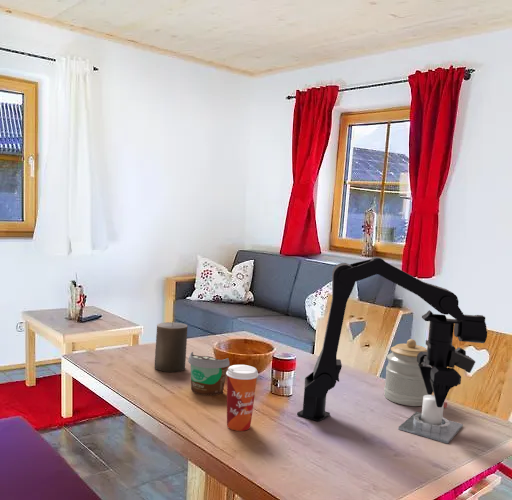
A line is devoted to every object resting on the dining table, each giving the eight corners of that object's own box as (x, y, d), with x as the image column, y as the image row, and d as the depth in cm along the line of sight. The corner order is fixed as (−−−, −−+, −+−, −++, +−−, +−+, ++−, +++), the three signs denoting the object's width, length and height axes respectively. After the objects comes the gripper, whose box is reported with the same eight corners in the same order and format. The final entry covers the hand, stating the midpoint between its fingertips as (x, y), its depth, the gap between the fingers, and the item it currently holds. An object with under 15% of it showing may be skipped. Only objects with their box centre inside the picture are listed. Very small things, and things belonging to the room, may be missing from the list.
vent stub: (423, 428, 133) (426, 400, 133) (418, 420, 138) (421, 394, 138) (447, 430, 133) (450, 403, 132) (441, 422, 138) (444, 396, 137)
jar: (437, 400, 157) (443, 341, 155) (416, 410, 147) (422, 347, 146) (396, 388, 165) (402, 332, 164) (375, 397, 156) (380, 337, 155)
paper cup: (230, 434, 123) (234, 375, 122) (217, 421, 130) (221, 365, 129) (260, 430, 126) (265, 372, 125) (246, 417, 133) (250, 362, 132)
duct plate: (448, 443, 126) (448, 435, 126) (398, 429, 133) (399, 421, 133) (462, 426, 138) (463, 418, 138) (416, 413, 145) (416, 406, 144)
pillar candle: (182, 373, 165) (185, 325, 164) (151, 370, 165) (154, 322, 164) (187, 364, 175) (190, 319, 174) (157, 362, 175) (160, 316, 174)
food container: (178, 391, 149) (180, 356, 148) (189, 385, 155) (191, 351, 154) (218, 400, 145) (220, 363, 144) (227, 393, 150) (230, 358, 150)
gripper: (486, 351, 124) (480, 417, 125) (461, 333, 143) (456, 391, 144) (437, 347, 125) (431, 413, 126) (419, 330, 143) (413, 387, 144)
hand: (434, 400), depth 135 cm, fingers open, 9 cm apart
